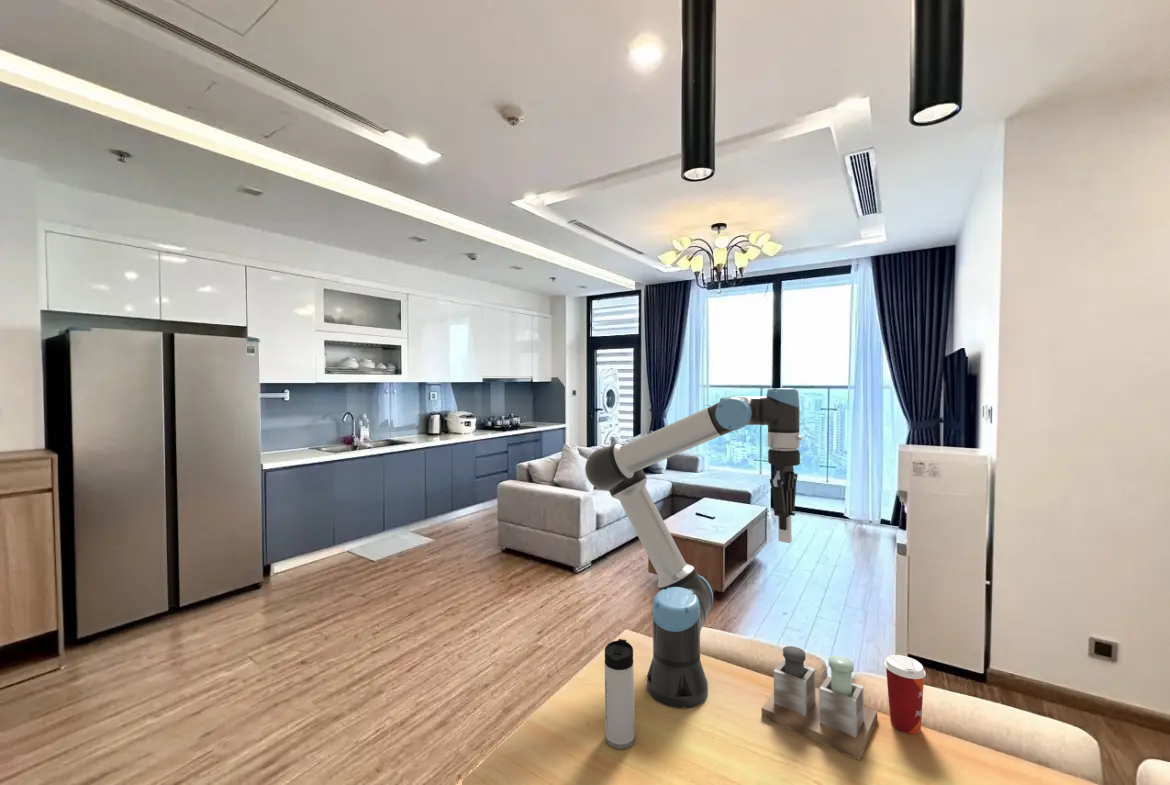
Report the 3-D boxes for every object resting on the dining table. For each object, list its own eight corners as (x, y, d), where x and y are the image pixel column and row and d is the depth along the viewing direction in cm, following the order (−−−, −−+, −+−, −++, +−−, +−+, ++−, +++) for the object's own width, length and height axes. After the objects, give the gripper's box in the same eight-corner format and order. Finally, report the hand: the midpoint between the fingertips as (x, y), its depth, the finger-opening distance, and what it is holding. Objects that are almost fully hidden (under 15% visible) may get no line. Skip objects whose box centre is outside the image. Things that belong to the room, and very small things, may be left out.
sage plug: (826, 713, 105) (825, 661, 105) (833, 702, 109) (832, 652, 109) (851, 723, 102) (850, 670, 102) (856, 711, 105) (856, 660, 105)
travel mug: (637, 731, 106) (636, 640, 106) (630, 752, 100) (629, 656, 100) (610, 725, 108) (609, 636, 108) (601, 746, 102) (600, 651, 102)
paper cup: (933, 740, 102) (932, 674, 102) (893, 735, 104) (892, 670, 104) (916, 715, 110) (915, 654, 110) (879, 711, 111) (878, 651, 111)
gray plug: (780, 700, 112) (779, 652, 112) (787, 690, 115) (787, 644, 115) (802, 709, 109) (801, 659, 109) (808, 698, 112) (808, 651, 112)
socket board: (761, 716, 110) (761, 675, 110) (787, 684, 122) (786, 647, 122) (859, 760, 97) (858, 713, 97) (877, 719, 109) (876, 677, 109)
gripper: (789, 452, 115) (791, 551, 115) (807, 447, 124) (809, 538, 124) (758, 450, 120) (760, 544, 120) (778, 445, 129) (779, 532, 129)
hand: (785, 541), depth 122 cm, fingers closed
